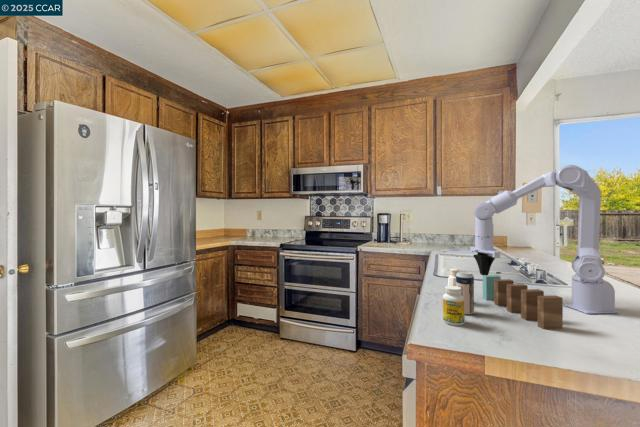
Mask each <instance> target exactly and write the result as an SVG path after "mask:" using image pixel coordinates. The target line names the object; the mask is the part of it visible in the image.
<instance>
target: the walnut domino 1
mask: <svg viewBox="0 0 640 427" xmlns="http://www.w3.org/2000/svg"><path fill="white" fill-rule="evenodd" d="M507 284H514V280H512V279H510V278H509V279H500V280H494V300H493V304H494V305H495V306H497V307H507Z"/></svg>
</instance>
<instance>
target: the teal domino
mask: <svg viewBox="0 0 640 427" xmlns="http://www.w3.org/2000/svg"><path fill="white" fill-rule="evenodd" d="M501 278H502V277H501V275H497V274H491V275H490V274H488V275H482V299H483V300H485V301H494V280H500V279H501Z"/></svg>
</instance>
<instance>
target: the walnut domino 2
mask: <svg viewBox="0 0 640 427" xmlns="http://www.w3.org/2000/svg"><path fill="white" fill-rule="evenodd" d="M521 290H529V289H528V285H526V284H525V283H524V284H523V283H513V284H507V306H506V311H507V312H509V313H511V314H519V313H520V314H521Z"/></svg>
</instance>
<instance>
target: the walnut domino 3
mask: <svg viewBox="0 0 640 427" xmlns="http://www.w3.org/2000/svg"><path fill="white" fill-rule="evenodd" d="M544 293H545V291H544V290H541V289H540V288H536V289H533V288H532V289H530V288H529V289H528V290H521V313H520V318H521V319H523V320H525V321H538V296H545V294H544Z"/></svg>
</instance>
